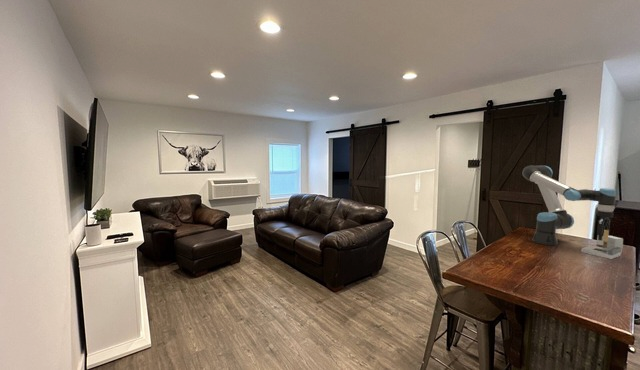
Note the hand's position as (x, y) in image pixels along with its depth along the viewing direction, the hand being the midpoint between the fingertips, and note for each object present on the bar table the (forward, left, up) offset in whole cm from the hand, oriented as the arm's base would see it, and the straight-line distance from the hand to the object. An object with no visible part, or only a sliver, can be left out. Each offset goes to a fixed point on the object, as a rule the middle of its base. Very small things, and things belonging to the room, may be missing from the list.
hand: (601, 244), depth 180 cm
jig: (0, 0, -7) cm, 7 cm away
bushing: (0, 0, -2) cm, 2 cm away
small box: (+1, +14, -7) cm, 16 cm away
